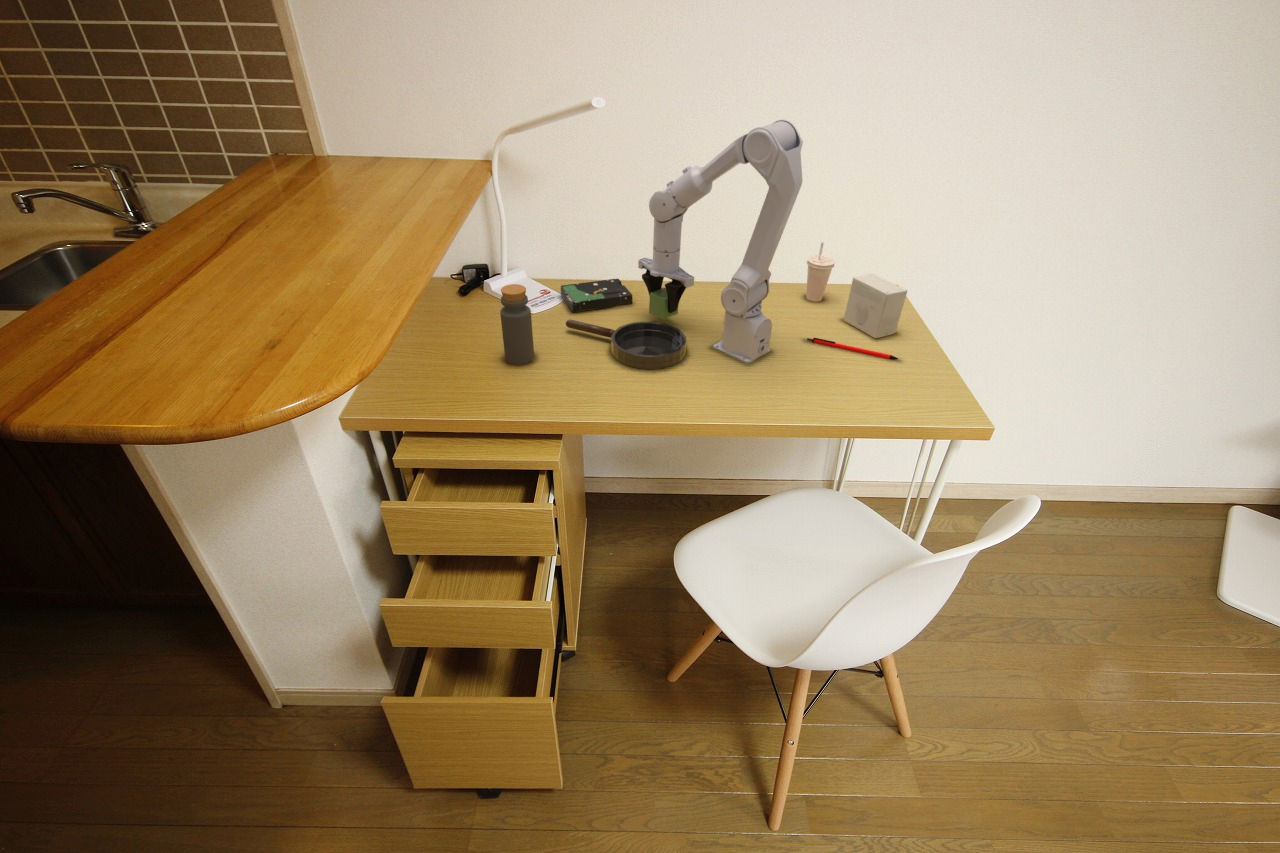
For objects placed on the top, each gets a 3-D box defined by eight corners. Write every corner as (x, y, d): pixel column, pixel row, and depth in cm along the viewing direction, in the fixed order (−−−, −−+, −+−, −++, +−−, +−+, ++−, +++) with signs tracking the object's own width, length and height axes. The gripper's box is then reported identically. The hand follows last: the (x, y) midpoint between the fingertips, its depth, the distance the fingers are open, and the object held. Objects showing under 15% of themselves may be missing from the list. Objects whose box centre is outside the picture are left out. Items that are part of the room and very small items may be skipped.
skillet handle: (617, 336, 139) (617, 328, 138) (613, 340, 138) (613, 332, 137) (568, 324, 143) (568, 317, 142) (564, 328, 141) (563, 320, 140)
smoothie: (795, 294, 162) (805, 238, 154) (818, 291, 164) (829, 236, 155) (808, 305, 157) (819, 248, 149) (832, 302, 159) (844, 245, 151)
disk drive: (617, 288, 163) (560, 295, 158) (618, 277, 161) (559, 284, 156) (632, 305, 155) (572, 313, 150) (633, 294, 153) (572, 302, 149)
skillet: (700, 352, 137) (701, 339, 135) (649, 379, 128) (649, 364, 126) (647, 327, 145) (647, 314, 144) (596, 350, 136) (595, 337, 134)
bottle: (538, 353, 135) (533, 284, 126) (527, 367, 130) (521, 297, 122) (512, 349, 136) (505, 281, 127) (500, 362, 131) (492, 292, 123)
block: (678, 313, 146) (679, 293, 143) (664, 319, 143) (665, 299, 141) (662, 307, 149) (663, 287, 146) (648, 313, 146) (649, 292, 143)
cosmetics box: (896, 333, 146) (909, 289, 140) (875, 339, 143) (887, 294, 137) (863, 314, 153) (873, 272, 147) (842, 320, 151) (851, 276, 145)
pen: (807, 340, 143) (808, 335, 142) (898, 359, 136) (899, 355, 136) (806, 341, 142) (807, 337, 141) (897, 361, 136) (899, 356, 135)
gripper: (628, 243, 139) (627, 302, 147) (679, 262, 131) (675, 323, 139) (651, 235, 143) (649, 293, 151) (702, 253, 135) (697, 314, 143)
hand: (663, 307), depth 145 cm, fingers closed on block, 4 cm apart
